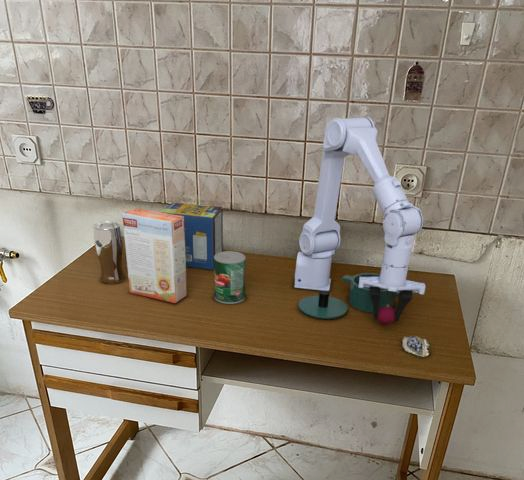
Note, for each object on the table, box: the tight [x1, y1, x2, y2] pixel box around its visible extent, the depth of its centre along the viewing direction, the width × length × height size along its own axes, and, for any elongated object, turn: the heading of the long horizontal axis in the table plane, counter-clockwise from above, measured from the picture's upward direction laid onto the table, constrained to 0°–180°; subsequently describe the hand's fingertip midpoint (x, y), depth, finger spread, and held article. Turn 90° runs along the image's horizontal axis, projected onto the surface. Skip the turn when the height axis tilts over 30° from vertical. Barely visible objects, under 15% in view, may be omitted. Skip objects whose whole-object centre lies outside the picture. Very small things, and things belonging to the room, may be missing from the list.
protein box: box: [160, 202, 224, 271], centre depth 150 cm, size 10×15×16 cm
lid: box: [297, 290, 348, 320], centre depth 128 cm, size 12×12×5 cm
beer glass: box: [93, 220, 125, 285], centre depth 136 cm, size 7×7×15 cm
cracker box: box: [121, 207, 188, 304], centre depth 128 cm, size 14×6×21 cm, turn 65°
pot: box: [341, 272, 400, 314], centre depth 132 cm, size 11×17×6 cm
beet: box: [376, 304, 396, 325], centre depth 121 cm, size 4×4×5 cm
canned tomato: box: [213, 250, 247, 305], centre depth 131 cm, size 8×8×11 cm
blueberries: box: [401, 335, 430, 358], centre depth 114 cm, size 7×8×2 cm
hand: (385, 317), depth 121 cm, fingers closed on beet, 4 cm apart
